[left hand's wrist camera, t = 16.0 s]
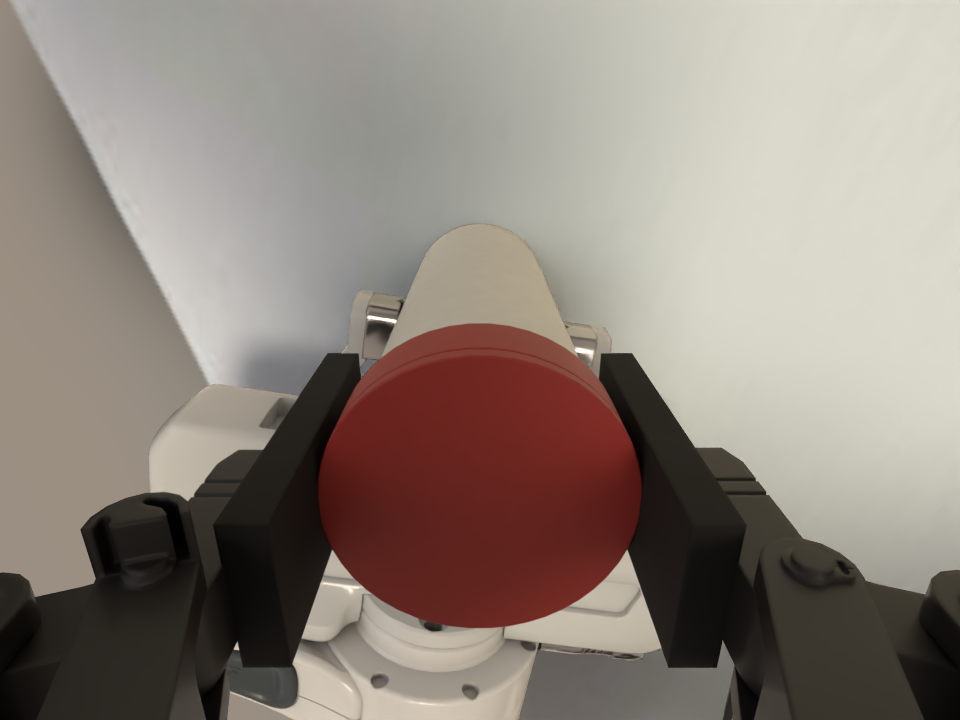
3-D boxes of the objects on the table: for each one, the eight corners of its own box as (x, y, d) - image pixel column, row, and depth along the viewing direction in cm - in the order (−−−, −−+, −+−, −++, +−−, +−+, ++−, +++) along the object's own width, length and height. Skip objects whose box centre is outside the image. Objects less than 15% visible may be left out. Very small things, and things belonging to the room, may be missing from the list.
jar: (398, 313, 26) (296, 545, 11) (449, 201, 24) (405, 310, 10) (506, 363, 27) (538, 635, 12) (564, 258, 25) (678, 435, 11)
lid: (298, 509, 13) (272, 566, 11) (406, 269, 11) (393, 295, 9) (537, 601, 14) (545, 665, 12) (676, 398, 12) (708, 441, 10)
